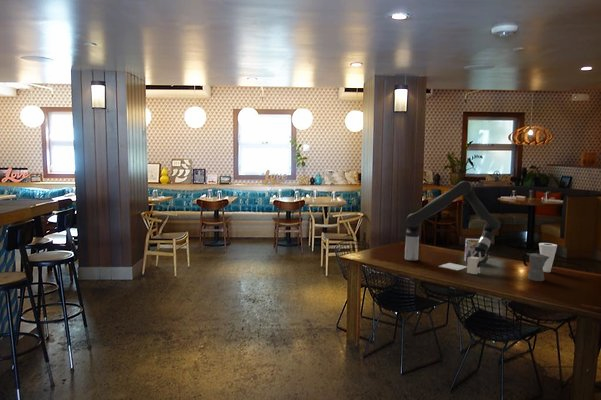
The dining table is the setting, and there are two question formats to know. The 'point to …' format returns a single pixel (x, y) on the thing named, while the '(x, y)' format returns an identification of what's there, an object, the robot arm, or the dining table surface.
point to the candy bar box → (470, 246)
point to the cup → (548, 254)
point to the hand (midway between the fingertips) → (473, 265)
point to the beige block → (473, 265)
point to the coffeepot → (535, 265)
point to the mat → (453, 266)
